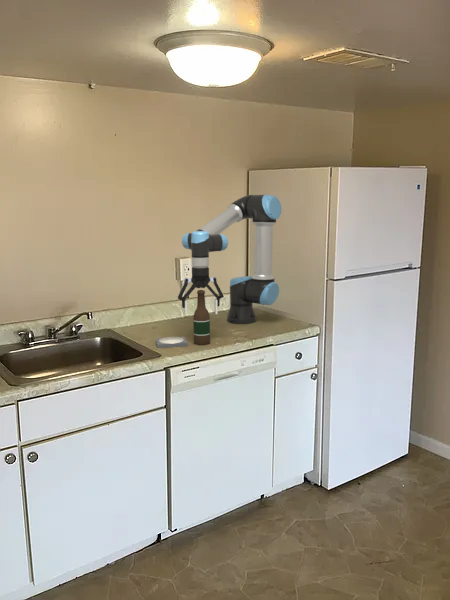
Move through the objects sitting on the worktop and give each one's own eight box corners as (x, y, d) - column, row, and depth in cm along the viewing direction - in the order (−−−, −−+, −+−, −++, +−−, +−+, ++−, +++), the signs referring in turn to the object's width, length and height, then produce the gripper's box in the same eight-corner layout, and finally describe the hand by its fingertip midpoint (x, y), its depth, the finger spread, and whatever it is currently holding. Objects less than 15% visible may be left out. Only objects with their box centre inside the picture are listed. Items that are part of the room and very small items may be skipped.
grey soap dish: (184, 339, 255) (184, 336, 255) (187, 346, 245) (187, 342, 244) (156, 341, 253) (155, 337, 253) (157, 348, 242) (157, 344, 242)
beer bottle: (197, 346, 244) (195, 292, 239) (190, 342, 251) (189, 289, 246) (213, 344, 247) (212, 291, 242) (206, 340, 254) (205, 288, 249)
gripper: (226, 264, 248) (226, 311, 252) (170, 266, 244) (172, 313, 247) (230, 266, 241) (230, 314, 245) (172, 268, 236) (173, 317, 240)
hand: (201, 314), depth 246 cm, fingers open, 13 cm apart
